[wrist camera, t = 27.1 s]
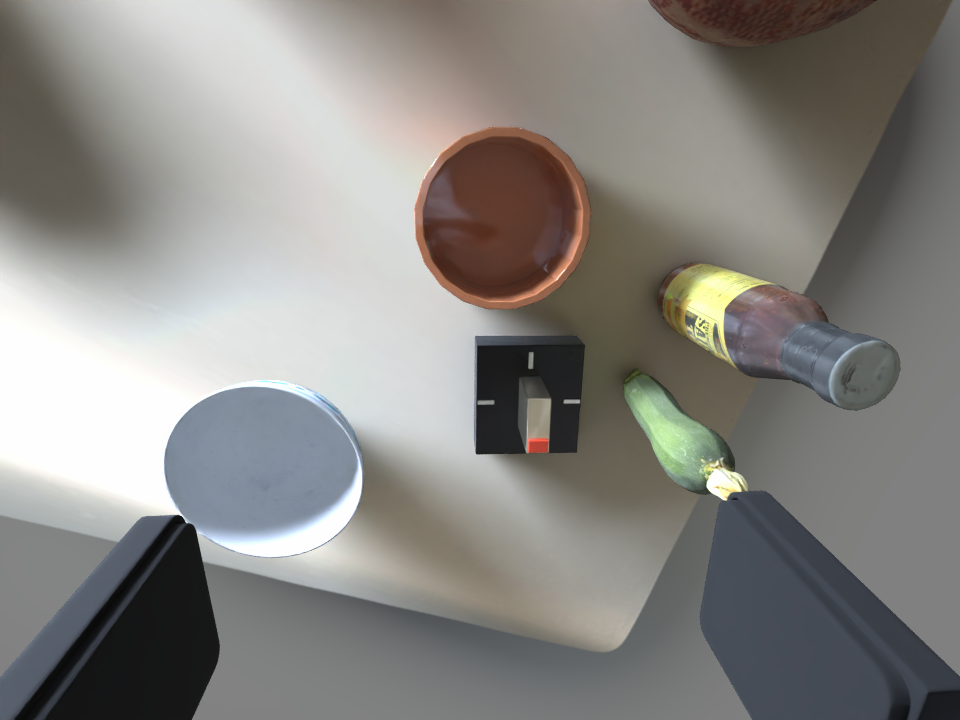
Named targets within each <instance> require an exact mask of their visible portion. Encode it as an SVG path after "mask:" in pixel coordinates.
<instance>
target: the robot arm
mask: <svg viewBox="0 0 960 720" xmlns="http://www.w3.org/2000/svg"><path fill="white" fill-rule="evenodd" d="M700 624H701V629H702V632H703V634H704V637H705V638H706V640H707V642H708V644H709V645H710V647H711V649H712V651H713V652H714V654H715V656H716V658H717V659H718V661H719V663H720V664H721V666H722V668H723V670H724V672H725V673H726V675H727V677H728V678H729V680H730V682H731V684H732V685H733V687H734V689H735V691H736V692H737V694H738V696H739V698H740V699H741V701H742V703H743V704H744V706H745V708H746V710H747V711H748V713H749V715H750V717H751V718H752V720H960V676H959V675H958V674H956V673H955V672H954V671H953V670H952V669H951V668H950V667H949V666H948V665H947V664H946V663H945V662H944V661H943V660H942V659H941V658H940V657H939V656H938V655H937V654H936V653H935V652H934V651H932V650H931V649H930V648H929V647H928V646H927V645H926V644H925V643H924V642H923V641H922V640H921V639H920V638H919V637H918V636H917V635H916V634H915V633H914V632H913V631H912V630H910V628H909V627H907V625H906V624H904V623H903V622H902V621H901V620H900V619H899V618H898V617H897V616H896V615H895V614H894V613H893V612H892V611H891V610H890V609H889V608H888V607H887V606H886V605H884V603H883V602H881V600H879V599H878V598H877V597H876V596H875V595H874V594H873V593H872V592H871V591H870V590H869V589H868V588H867V587H866V586H865V585H864V584H863V583H862V582H861V581H860V580H859V579H858V578H857V577H855V576H854V575H853V574H852V573H851V572H850V571H849V570H848V569H847V568H846V567H845V566H844V565H843V564H842V563H841V562H840V561H839V560H838V559H837V558H836V557H835V556H834V555H833V554H832V553H831V552H829V551H828V550H827V549H826V548H825V547H824V546H823V545H822V544H821V543H820V542H819V541H818V540H817V539H816V538H815V537H814V536H813V535H812V534H811V533H810V532H809V531H808V530H807V529H805V528H804V527H803V526H802V525H801V524H800V523H799V522H798V521H797V520H796V519H795V518H794V517H793V516H792V515H791V514H790V513H789V512H788V511H787V510H786V509H785V508H784V507H783V506H782V505H781V504H780V503H778V502H777V501H776V500H775V499H774V498H773V497H772V496H771V495H770V494H769V493H767V492H765V491H742V492H732V493H730V494H729V496H728V498H727V500H724V501H722V502H721V503H720V505H719V508H718V514H717V520H716V525H715V531H714V537H713V542H712V548H711V554H710V560H709V565H708V571H707V577H706V582H705V588H704V594H703V599H702V605H701V611H700ZM219 648H220V644H219V638H218V633H217V628H216V624H215V619H214V614H213V609H212V605H211V600H210V596H209V591H208V586H207V581H206V576H205V571H204V566H203V562H202V557H201V552H200V547H199V543H198V538H197V533H196V529H195V527H194V525H193V524H191V523H186V522H185V520H184V518H183V517H182V516H180V515H166V516H146V517H142V518H141V519H139V520H138V521H137V522H136V523H135V524H134V526H133V527H132V528H131V529H130V530H129V531H128V532H127V534H126V535H125V536H124V537H123V538H122V539H121V540H120V542H119V543H118V544H117V545H116V546H115V547H114V548H113V550H112V551H111V552H110V553H109V554H108V555H107V556H106V557H105V559H104V560H103V561H102V562H101V563H100V564H99V566H98V567H97V568H96V569H95V570H94V571H93V573H91V575H90V576H89V577H88V578H87V579H86V580H85V581H84V583H83V584H82V585H81V586H80V587H79V588H78V590H77V591H76V592H75V593H74V594H73V595H72V596H71V597H70V599H69V600H68V601H67V602H66V603H65V604H64V606H62V608H61V609H60V610H59V611H58V612H57V613H56V615H55V616H54V617H53V618H52V619H51V620H50V621H49V623H48V624H47V625H46V626H45V627H44V628H43V630H41V632H40V633H39V634H38V635H37V636H36V637H35V638H34V640H33V641H32V642H31V643H30V644H29V645H28V647H27V648H26V649H25V650H24V651H23V652H22V653H21V654H20V656H19V657H18V658H17V659H16V660H15V661H14V663H12V665H11V666H10V667H9V668H8V669H7V670H6V672H5V673H4V674H3V675H2V676H1V677H0V720H192V718H193V716H194V714H195V711H196V709H197V707H198V705H199V702H200V700H201V698H202V696H203V694H204V691H205V689H206V687H207V685H208V683H209V681H210V679H211V676H212V674H213V672H214V670H215V667H216V665H217V662H218V658H219V650H220V649H219Z"/></svg>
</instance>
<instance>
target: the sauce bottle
mask: <svg viewBox="0 0 960 720" xmlns="http://www.w3.org/2000/svg"><path fill="white" fill-rule="evenodd" d="M658 305H659V309H660V312H661V314H662V317H663V319H665V320H666V322H667V323H668V325H670V326H671V328H673V329H674V330H675V331H676V332H678V333H680V334H681V335H683V336H684V337H686V338H687V339H689V340H691V341H692V342H694V343H695V344H697V345H699V346H700V347H702V348H703V349H705V350H707V351H708V352H710V353H711V354H713V355H714V356H716V357H718V358H720V359H721V360H723V361H724V362H726V363H728V364H729V365H731V366H732V367H734V368H735V369H737V370H739V371H740V372H742V373H744V374H746V375H748V376H751V377H757V378H772V379H785V380H792V381H795V382H797V383H801V384H804V385H806V386H807V387H809V388H811V389H813V390H814V391H816V392H817V394H818V395H819V396H820V397H821V398H822V399H824V400H825V401H827V402H829V403H832V404H834V405H836V406H838V407H840V408H843V409H847V410H860V409H865V408H868V407H870V406H873V405H875V404H877V403H879V402H880V401H881V400H882V399H884V398H885V397H886V396H887V395H888V394H889V393H890V391H891V390H892V389H893V387H894V386H895V384H896V382H897V380H898V376H899V372H900V359H899V356H898V353H897V352H896V350H895V349H894V348H893V347H892V346H890V345H889V344H888V343H886V342H885V341H882V340H879V339H877V338H874V337H871V336H868V335H863V334H853V333H850V332H848V331H845V330H842V329H839V327H837V326H835V325H833V324H830V323H829V322H828V319H827V316H826V314H825V313H824V311H823V310H822V308H821V306H820V305H818V303H817V302H816V301H814V300H811V299H810V298H808V297H807V296H804V295H803V294H799V293H796V292H792V291H789V290H788V289H786V288H784V287H782V286H779V285H776V284H773V283H770V282H767V281H763V280H760V279H757V278H754V277H751V276H747V275H744V274H741V273H738V272H735V271H731V270H728V269H725V268H722V267H718V266H715V265H711V264H695V263H694V264H693V263H690V264H685V265H683V266H681V267H679V268H677V269H676V270H674V271H673V272H671V273H670V275H669V276H668V277H666V279H665V280H664V282H663V283H662V286H661V287H660V290H659V294H658Z"/></svg>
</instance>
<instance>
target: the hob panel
mask: <svg viewBox="0 0 960 720" xmlns="http://www.w3.org/2000/svg"><path fill="white" fill-rule="evenodd" d="M584 350H585V345H584V344H583V343H582V341H581V340H580V339H579V338H578V337H577V336H475V401H474V442H475V451H476V454H524V453H526V451H525V447H524V444H523V441H522V437H521V434H520V431H519V428H518V409H519V378H520V377H537V376H540V377H541V379H542V381H543V383H544V385H545V387H546V389H547V391H548V393H549V395H550V397H551V399H552V402H551V422H550V442H549V453H576V452H577V441H578V428H579V415H580V402H581V389H582V376H583V363H584Z"/></svg>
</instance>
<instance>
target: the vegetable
mask: <svg viewBox="0 0 960 720" xmlns="http://www.w3.org/2000/svg"><path fill="white" fill-rule="evenodd" d="M623 388H624V397H625V400H626V402H627V404H628V405H629V407H630V409H631V411H632V413H633V415H634V417H635V418H636V420H637V422H638V423H639V425H640V426H641V428H642V429H643V430H644V432H645V433H646V435H647V437H648V438H649V440H650V442H651V444H652V448H653V451H654V453H655V455H656V457H657V459H658V461H659V463H660V464H661V466H662V467H663V469H664V470H665V472H666V473H667V474H668V476H669V477H670V478H671V479H672V480H673V481H675V482H676V483H677V484H678V485H680V486H681V487H683V488H685V489H687V490H688V491H691V492H693V493H696V494H704V495H706V494H710V493H713V494H714V495H716V496H719V497H720V498H721V499H723V500H727V498H728V496H729V494H730V493H732V492H742V491H748V484H747V482H746V481H745V479H744V477H743V476H741V475H740V474H738V473H735V472H734V470H735V460H734V457H733V455H732V452H731V450H730V448H729V446H728V445H727V443H726V442H725V441H724V440H723V438H722V437H721V436H720V435H718V434H717V433H716V432H714V431H713V430H711V429H709V428H707V427H706V426H704V425H702V424H701V423H699V422H697V421H696V420H694V419H692V418H691V417H690V416H689V415H688V414H687V413H685V412H684V411H683V410H682V409H681V407H680V406H679V405H678V403H677V402H676V400H675V398H674V397H673V396H672V394H671V393H670V392H669V391H668V390H667V389H666V388H665V387H664V386H663V385H662V384H660V383H659V382H658V381H657V380H656V379H654V378H653V377H651V376H648V375H647V374H644V373H642V372H641V371H640V370H639V369H636V370H635V371H634V372H633V373H632V374H631V375H630V376H629V377H628V378H627V379H625V380H624V384H623Z"/></svg>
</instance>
